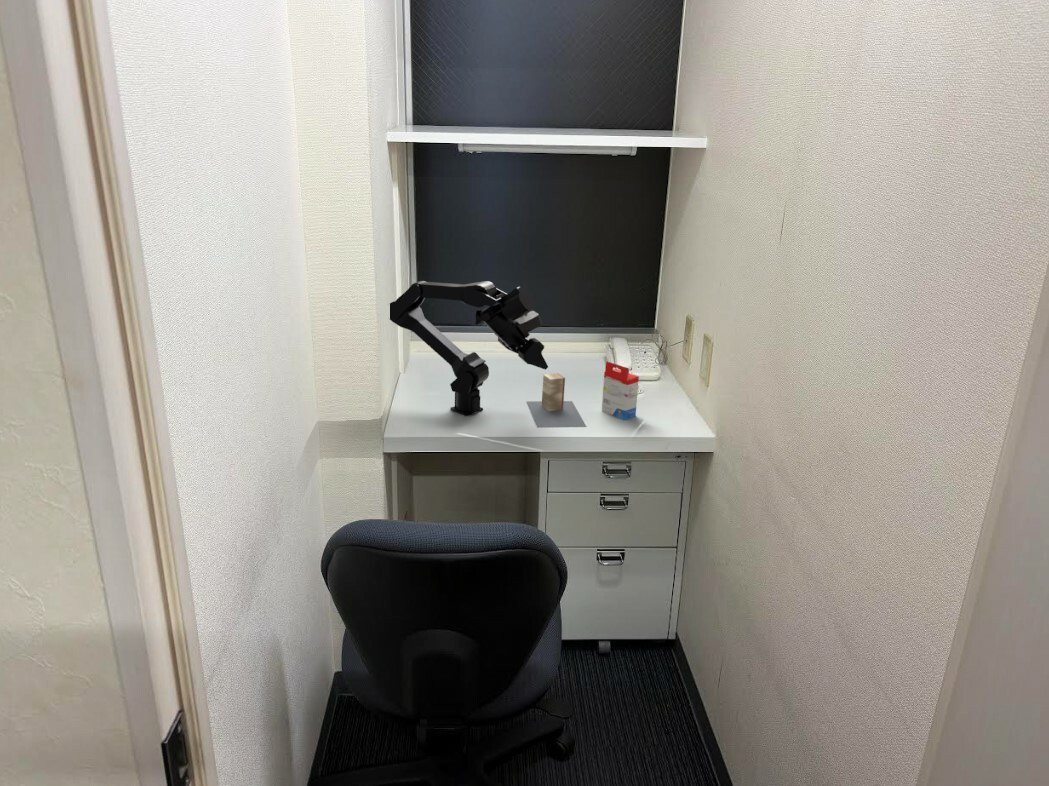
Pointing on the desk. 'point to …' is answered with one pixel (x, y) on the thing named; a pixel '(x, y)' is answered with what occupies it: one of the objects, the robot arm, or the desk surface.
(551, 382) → the beech block
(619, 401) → the ink box
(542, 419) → the slate mat
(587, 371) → the desk surface
